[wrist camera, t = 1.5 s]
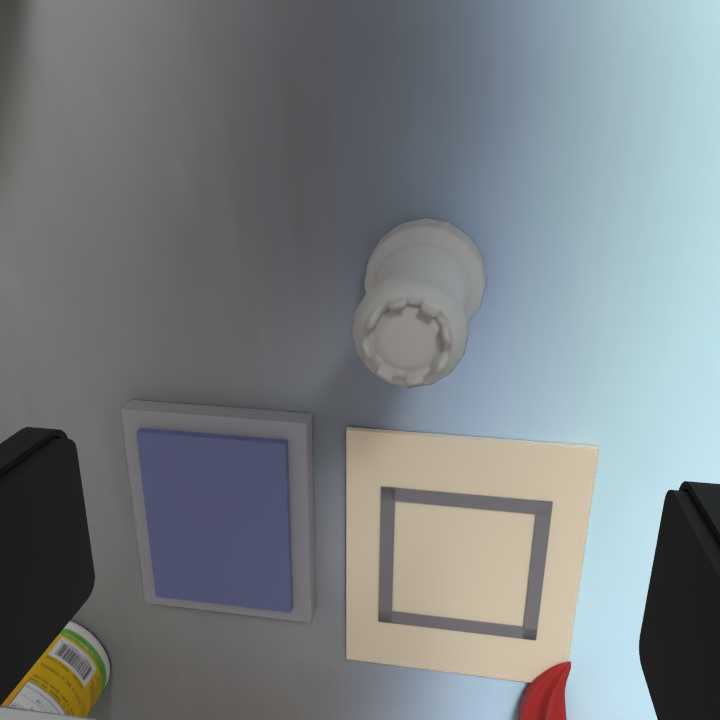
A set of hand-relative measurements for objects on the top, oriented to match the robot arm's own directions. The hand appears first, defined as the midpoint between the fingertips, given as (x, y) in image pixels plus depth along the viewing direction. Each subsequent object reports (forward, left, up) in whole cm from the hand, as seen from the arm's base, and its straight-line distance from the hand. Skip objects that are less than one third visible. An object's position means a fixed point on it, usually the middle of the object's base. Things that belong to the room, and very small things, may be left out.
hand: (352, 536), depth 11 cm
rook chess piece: (0, 0, -16) cm, 16 cm away
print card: (+12, +2, -16) cm, 20 cm away
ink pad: (+11, -8, -16) cm, 21 cm away
